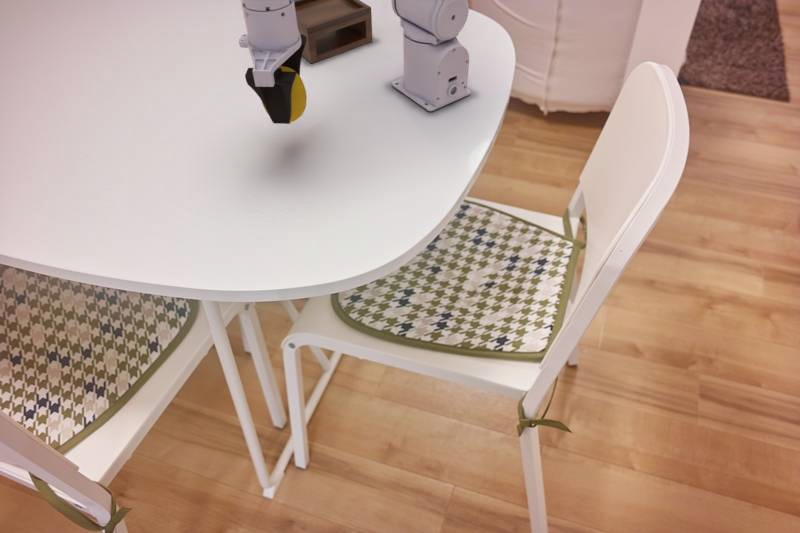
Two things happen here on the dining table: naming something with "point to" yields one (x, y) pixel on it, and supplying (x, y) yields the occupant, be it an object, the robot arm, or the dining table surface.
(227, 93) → the dining table surface
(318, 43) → the walnut box
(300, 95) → the lemon
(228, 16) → the dining table surface
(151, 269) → the dining table surface
